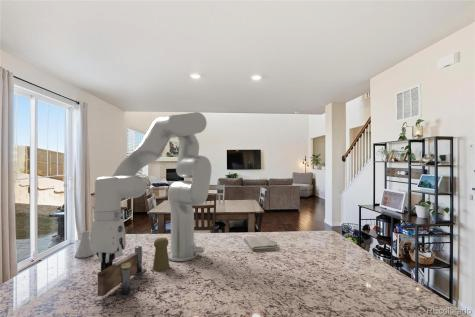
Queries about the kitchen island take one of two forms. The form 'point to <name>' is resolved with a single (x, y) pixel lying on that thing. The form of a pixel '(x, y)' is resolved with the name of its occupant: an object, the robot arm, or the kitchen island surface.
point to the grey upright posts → (125, 275)
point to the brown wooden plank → (115, 274)
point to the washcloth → (260, 243)
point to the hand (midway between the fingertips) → (106, 273)
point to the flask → (84, 246)
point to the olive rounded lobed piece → (161, 255)
